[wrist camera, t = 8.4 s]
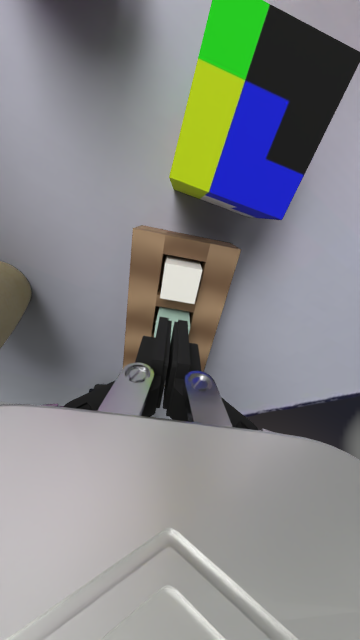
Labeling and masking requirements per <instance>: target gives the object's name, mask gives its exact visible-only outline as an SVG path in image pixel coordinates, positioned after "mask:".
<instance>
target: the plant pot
mask: <svg viewBox="0 0 360 640" xmlns="http://www.w3.org/2000/svg"><path fill="white" fill-rule="evenodd" d="M30 299H31V287H30V284H29V282H28V281H27V279H26V278H25V276H24V275H23V274H22V273H21V272H20V271H19V270H18V269H16V268H15V267H13V266H12V265H10V264H7V263H5V262H1V261H0V348H1V347H2V346H3V345H4V343H5V342H6V340H7V339H8V338H9V336H10V335H11V333H12V332H13V330H14V329H15V327H16V326H17V324H18V322H19V321H20V319H21V317H22V316H23V314H24V312H25V310H26V308H27V306H28V304H29V301H30Z"/></svg>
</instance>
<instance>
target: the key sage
mask: <svg viewBox="0 0 360 640" xmlns="http://www.w3.org/2000/svg"><path fill="white" fill-rule="evenodd" d="M160 317H166V318H169V320H170V321H172V326H171V337H172V332H173V327H174V322H175V321H176V322H178V320H184V321H188V334H189V331H190V316H189V311H183V310H177V309H171V308H165V307H159V311H158V315H157V320H156V325H155V332H154V337H156V333H157V328H158V323H159V318H160ZM170 342H171V339H170Z"/></svg>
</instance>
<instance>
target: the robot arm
mask: <svg viewBox="0 0 360 640" xmlns="http://www.w3.org/2000/svg"><path fill="white" fill-rule="evenodd" d="M171 326H172V321H170V320H169V318H166V317H160V318H159V323H158V328H157V333H156V337H149V336H143V337H142V340H141V344H140V347H139V350H138V354H137V357H136V360H135V363H131V364H128V365H126V366H125V367H124V368H123V369H122V371H121V372H120V374H119V376H118V377H117V379H116V380H115V381H113V382H111V383H109V384H107V385H105V386H102V387H100V388H98V389H96V390H94V391H91V392H89V393H87V394H85V395H83V396H81V397H78V398H76V399H74V400H72V401H70V402H69V403H67V404H66V405H65V406H59V407H58V404H47V405H31V404H2V405H0V640H360V460H358V459H357V458H355V457H353V456H352V455H350V454H348V453H346V452H344V451H342V450H340V449H338V448H335V447H333V446H330V445H328V444H325V443H322V442H319V441H316V440H311V439H307V438H303V437H298V436H292V435H286V434H280V433H274V432H271V431H268V430H265V429H262V430H261V431H260V430H258V428H257V427H256V426H255V425H254V424H253V423H252V422H251V421H249V420H248V419H247V418H246V417H245V416H243V415H242V414H241V413H240V412H239V411H237V410H236V409H235V408H234V407H232V406H231V405H230V404H229V403H227V402H226V401H225V400H224V399H223V398H221V396H220V394H219V391H218V389H217V386H216V383H215V381H214V380H213V378H212V377H211V376H210V375H208V374H206V373H204V372H202V370H201V363H200V355H199V348H198V344H195V343H189V334H188V321H184V320H178V322H176V321H175V322H174V327H173V332H172V337H171ZM170 339H171V342H170ZM164 384H165V389H164ZM163 389H164V400H163V409H167V411H166V416H170V417H171V419H172V420H171V419H162V418H154V417H150V416H152V415H153V414H155V411H156V408H160V404H161V399H162V394H163Z"/></svg>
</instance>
